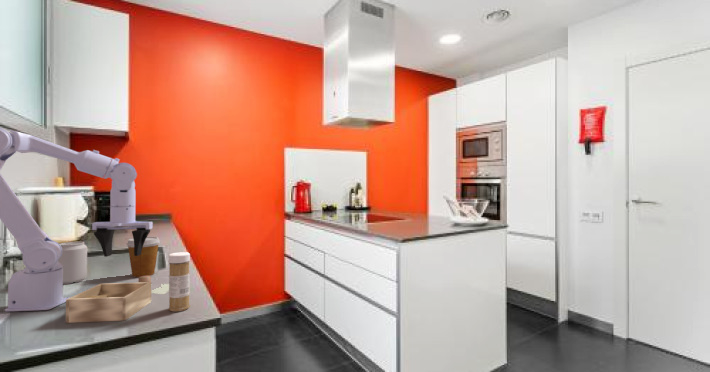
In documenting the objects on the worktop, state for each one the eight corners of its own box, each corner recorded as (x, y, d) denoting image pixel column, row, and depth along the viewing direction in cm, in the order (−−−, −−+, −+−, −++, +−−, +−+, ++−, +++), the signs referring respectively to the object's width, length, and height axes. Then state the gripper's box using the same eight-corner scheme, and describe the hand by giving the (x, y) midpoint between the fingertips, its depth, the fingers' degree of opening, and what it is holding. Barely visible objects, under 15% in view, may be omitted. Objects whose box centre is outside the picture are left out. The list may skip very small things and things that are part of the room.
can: (68, 285, 99) (68, 245, 100) (48, 284, 101) (48, 244, 101) (93, 278, 107) (93, 241, 107) (74, 277, 108) (74, 240, 108)
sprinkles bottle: (186, 304, 85) (186, 250, 85) (192, 309, 81) (192, 253, 81) (165, 308, 81) (166, 253, 81) (171, 313, 78) (172, 256, 78)
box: (65, 322, 73) (65, 299, 73) (100, 303, 85) (100, 283, 85) (125, 320, 74) (125, 297, 74) (151, 301, 86) (151, 282, 86)
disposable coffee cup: (141, 270, 117) (141, 236, 117) (166, 271, 116) (166, 237, 116) (118, 277, 108) (119, 240, 108) (145, 279, 107) (145, 241, 107)
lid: (105, 302, 87) (105, 284, 87) (131, 287, 100) (131, 271, 100) (159, 300, 89) (159, 282, 89) (178, 285, 102) (178, 270, 102)
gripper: (84, 207, 88) (84, 259, 88) (144, 207, 90) (143, 258, 90) (101, 205, 95) (101, 253, 95) (156, 205, 97) (156, 252, 97)
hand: (122, 255), depth 93 cm, fingers open, 7 cm apart
